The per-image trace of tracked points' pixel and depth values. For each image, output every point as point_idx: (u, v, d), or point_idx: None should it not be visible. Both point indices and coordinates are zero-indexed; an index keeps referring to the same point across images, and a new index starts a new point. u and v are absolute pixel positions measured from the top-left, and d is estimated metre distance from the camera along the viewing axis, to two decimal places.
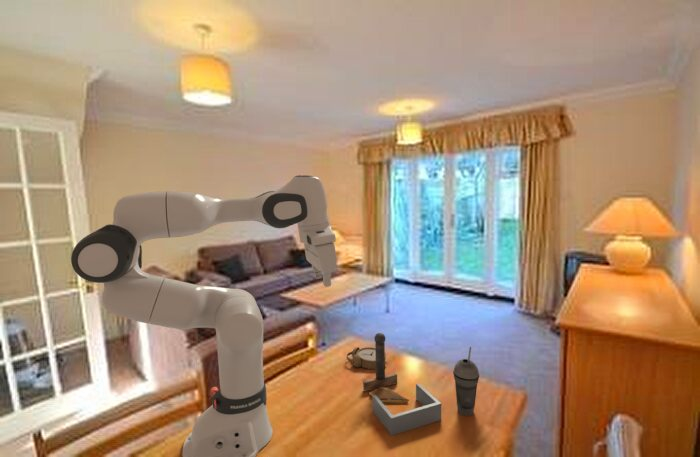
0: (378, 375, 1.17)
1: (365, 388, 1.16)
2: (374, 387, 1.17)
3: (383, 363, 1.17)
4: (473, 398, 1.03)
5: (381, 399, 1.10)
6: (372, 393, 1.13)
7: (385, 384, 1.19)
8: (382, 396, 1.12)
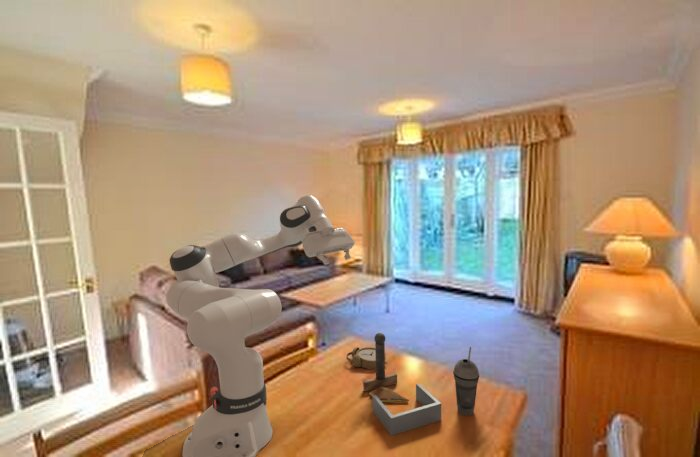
0: (378, 375, 1.17)
1: (365, 388, 1.16)
2: (374, 387, 1.17)
3: (383, 363, 1.17)
4: (473, 398, 1.03)
5: (381, 399, 1.10)
6: (372, 393, 1.13)
7: (385, 384, 1.19)
8: (382, 396, 1.12)
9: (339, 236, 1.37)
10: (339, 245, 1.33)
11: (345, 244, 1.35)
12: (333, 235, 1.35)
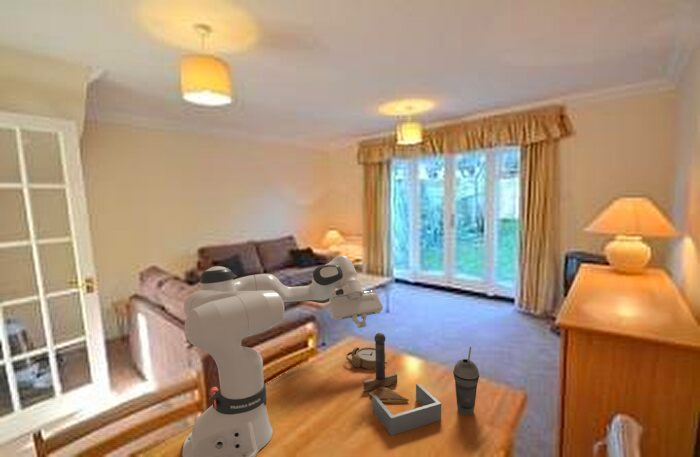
0: (378, 375, 1.17)
1: (365, 388, 1.16)
2: (374, 387, 1.17)
3: (383, 363, 1.17)
4: (473, 398, 1.03)
5: (381, 399, 1.10)
6: (372, 393, 1.13)
7: (385, 384, 1.19)
8: (382, 396, 1.12)
9: (367, 300, 1.36)
10: (365, 310, 1.33)
11: (372, 309, 1.34)
12: (361, 299, 1.36)
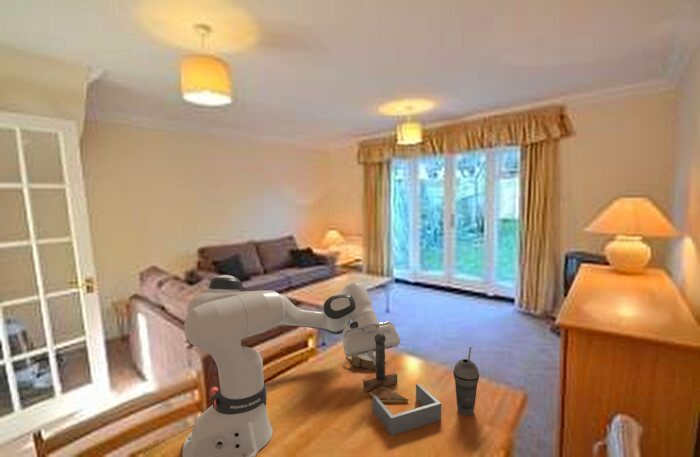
0: (378, 375, 1.17)
1: (365, 388, 1.16)
2: (374, 387, 1.17)
3: (384, 363, 1.17)
4: (473, 398, 1.03)
5: (381, 399, 1.10)
6: (372, 393, 1.13)
7: (385, 384, 1.19)
8: (382, 396, 1.12)
9: (384, 333, 1.26)
10: None
11: (389, 343, 1.24)
12: (377, 331, 1.25)
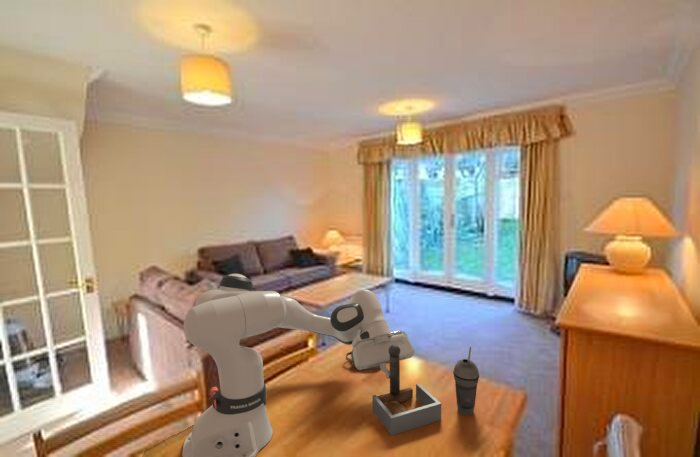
0: (392, 390, 1.08)
1: None
2: None
3: (398, 377, 1.08)
4: (473, 398, 1.03)
5: None
6: None
7: (400, 400, 1.10)
8: (390, 411, 1.04)
9: (396, 343, 1.17)
10: None
11: (403, 355, 1.15)
12: (389, 342, 1.17)
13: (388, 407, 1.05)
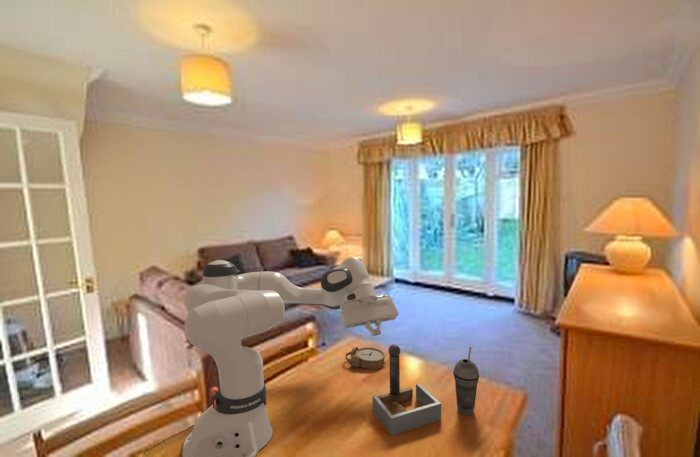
0: (392, 390, 1.08)
1: None
2: None
3: (398, 377, 1.08)
4: (473, 398, 1.03)
5: None
6: None
7: (400, 400, 1.10)
8: None
9: (381, 305, 1.25)
10: (380, 316, 1.22)
11: (387, 315, 1.23)
12: (374, 304, 1.25)
13: (388, 408, 1.05)
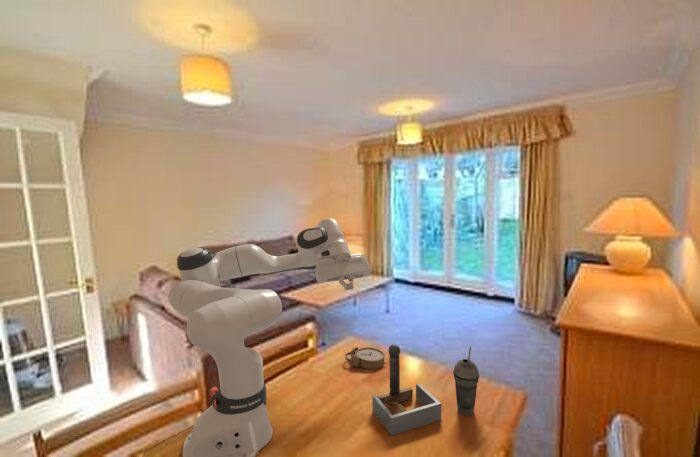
0: (392, 390, 1.08)
1: None
2: None
3: (398, 377, 1.08)
4: (473, 398, 1.03)
5: None
6: None
7: (400, 400, 1.10)
8: None
9: (355, 262, 1.29)
10: (353, 272, 1.26)
11: (360, 271, 1.27)
12: (348, 261, 1.28)
13: (388, 408, 1.05)
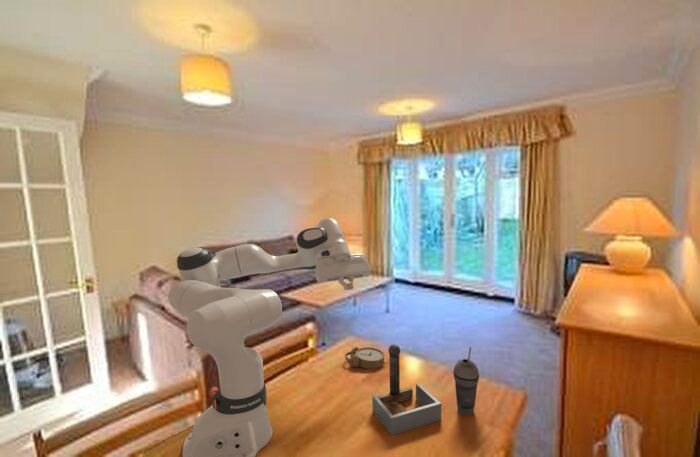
0: (392, 390, 1.08)
1: None
2: None
3: (398, 377, 1.08)
4: (473, 398, 1.03)
5: None
6: None
7: (400, 400, 1.10)
8: None
9: (355, 262, 1.29)
10: (353, 272, 1.26)
11: (360, 271, 1.27)
12: (348, 261, 1.28)
13: (388, 408, 1.05)
